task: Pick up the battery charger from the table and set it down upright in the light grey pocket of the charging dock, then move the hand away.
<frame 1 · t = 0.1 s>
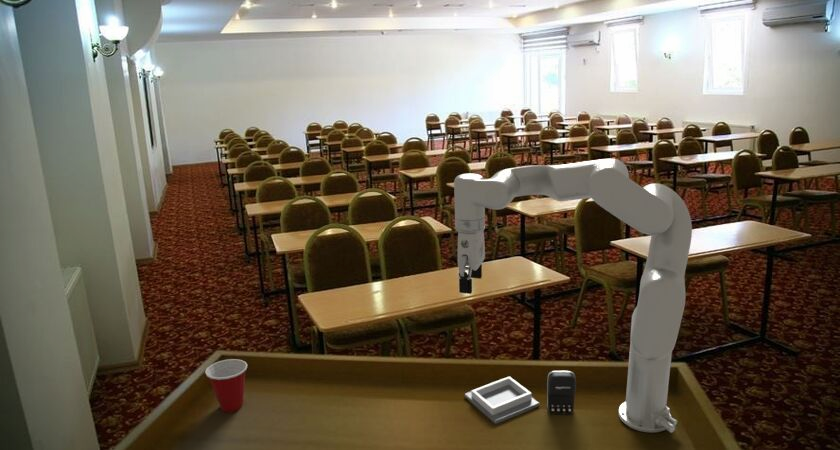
hand: (470, 285, 162), 31 cm above the lectern, tool pointing down, fingers open, 9 cm apart
plastic cup: (232, 406, 169), on the lectern
battery charger: (560, 412, 160), on the lectern
charging dock: (501, 401, 165), on the lectern
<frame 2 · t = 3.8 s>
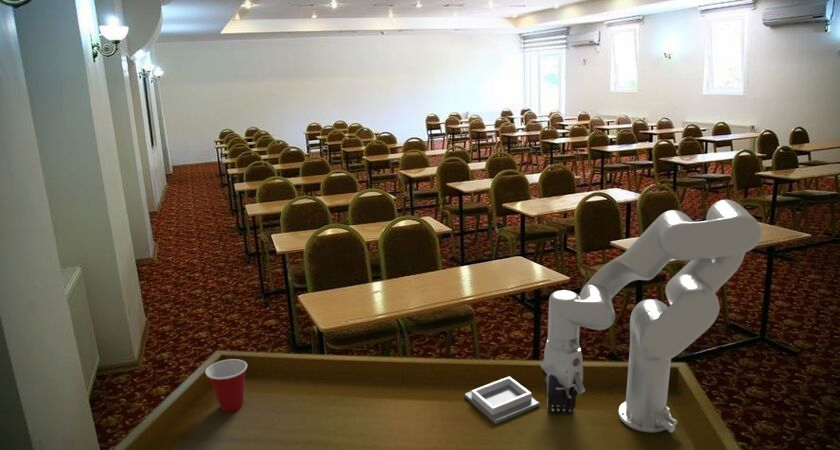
hand: (560, 401, 159), 3 cm above the lectern, tool pointing down, fingers closed on battery charger, 6 cm apart
battery charger: (560, 412, 160), on the lectern, touching gripper
everything else where it was.
when the fingers open (5 cm above the lectern, at t = 9.4 s): battery charger drops 1 cm, resting on charging dock.
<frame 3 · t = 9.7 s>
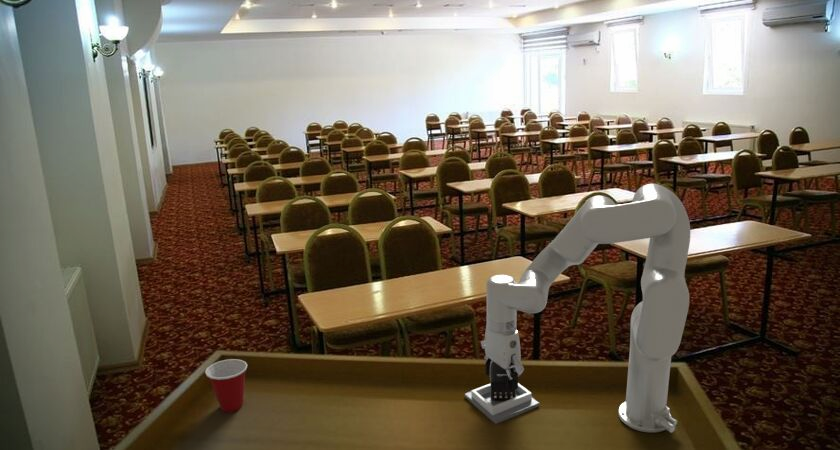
hand: (501, 381, 163), 6 cm above the lectern, tool pointing down, fingers open, 8 cm apart
battery charger: (503, 399, 165), point 1 cm above the lectern, touching charging dock
everything else where it was.
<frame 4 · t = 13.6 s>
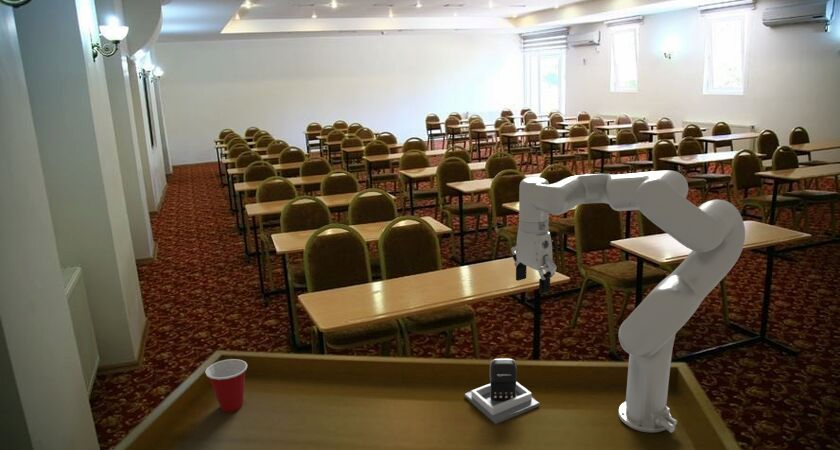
hand: (532, 285, 167), 28 cm above the lectern, tool pointing down, fingers open, 9 cm apart
nothing on the lectern moved.
at the end: battery charger 0.6 cm off-centre on the charging dock, point 0.8 cm above the charging dock's base; battery charger tilted 0°; the gripper is holding nothing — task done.
